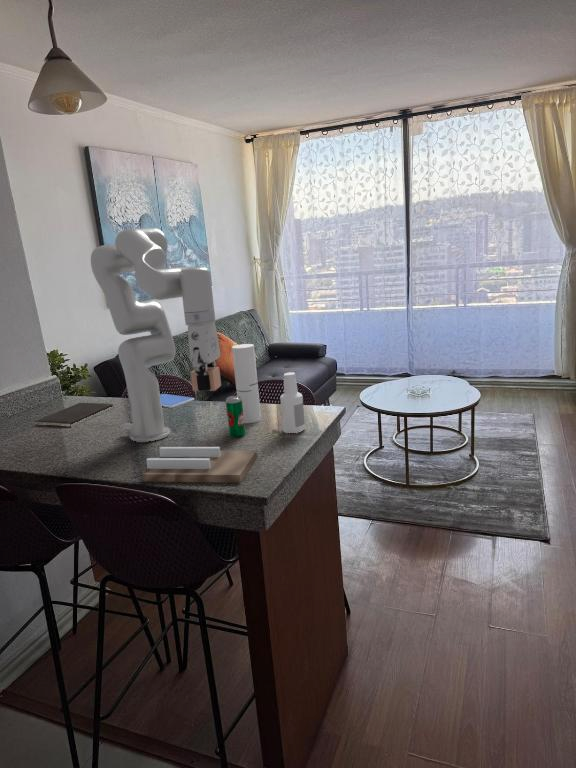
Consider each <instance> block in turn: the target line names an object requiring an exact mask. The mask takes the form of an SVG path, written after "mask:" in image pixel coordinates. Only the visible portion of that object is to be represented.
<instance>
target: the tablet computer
mask: <svg viewBox="0 0 576 768" xmlns="http://www.w3.org/2000/svg"><path fill="white" fill-rule="evenodd" d="M160 398H161V405H162V406H163V407H162V408H169V409H173V408H176V407H178V406H181V405H184V404H187V403H191V402H192V401H194V400H195V398H194V397H190V396H183V395H175V394H168V393H160Z"/></svg>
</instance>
